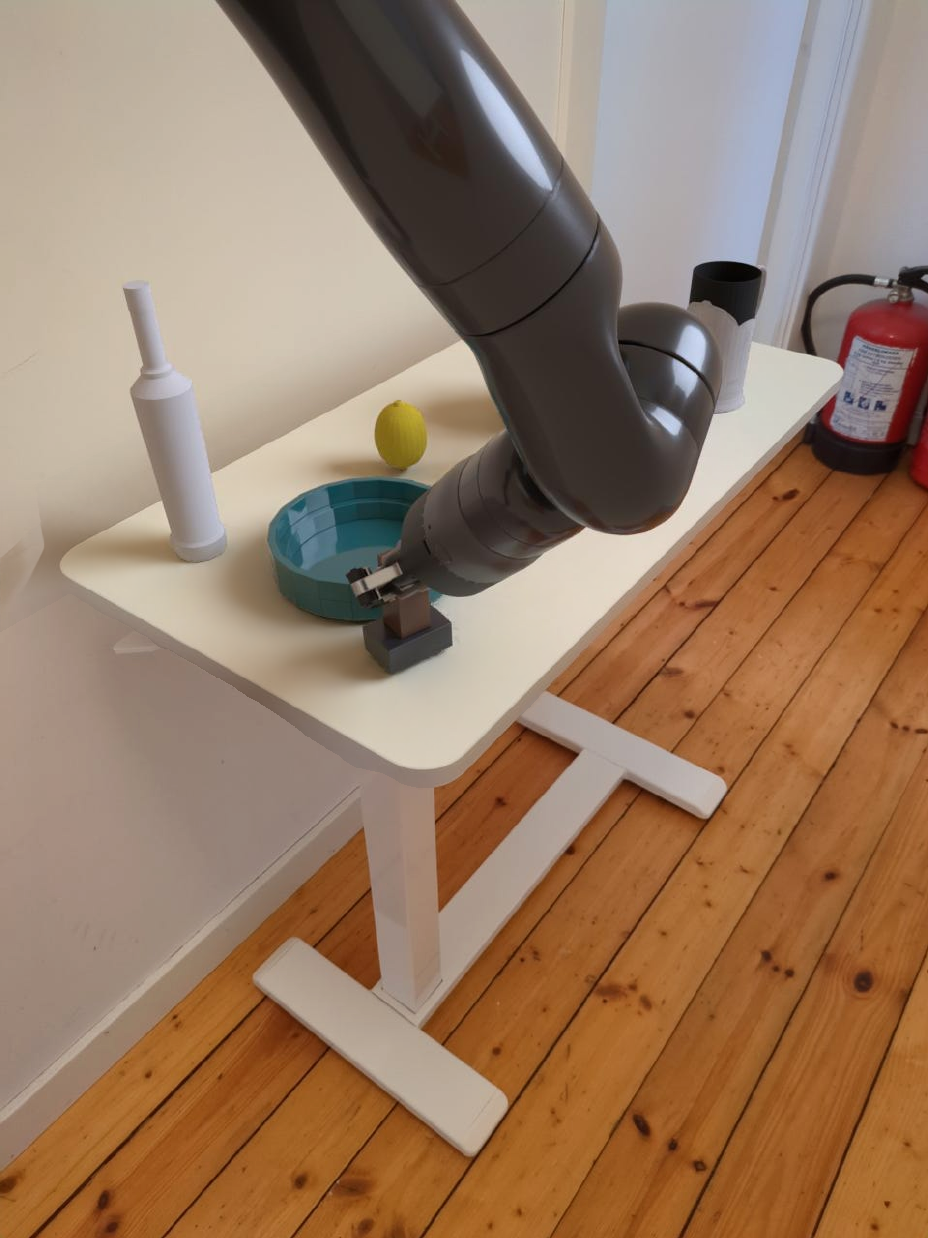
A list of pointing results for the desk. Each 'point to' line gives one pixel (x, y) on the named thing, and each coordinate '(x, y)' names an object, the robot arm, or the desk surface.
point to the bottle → (173, 438)
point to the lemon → (400, 434)
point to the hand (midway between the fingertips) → (391, 586)
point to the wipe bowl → (338, 541)
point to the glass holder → (729, 318)
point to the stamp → (406, 631)
